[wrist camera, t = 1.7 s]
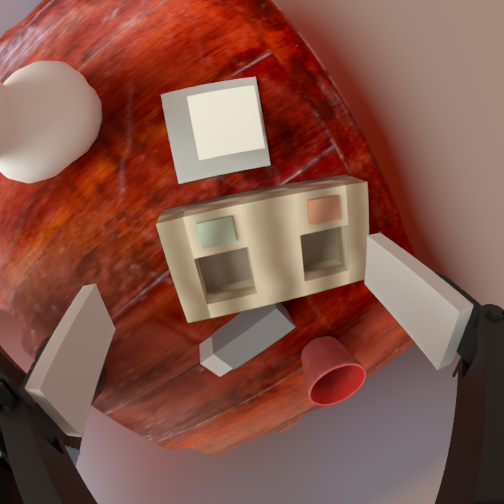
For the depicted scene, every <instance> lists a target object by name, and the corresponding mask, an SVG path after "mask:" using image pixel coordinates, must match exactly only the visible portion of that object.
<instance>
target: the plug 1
mask: <svg viewBox="0 0 504 504" xmlns="http://www.w3.org/2000/svg"><path fill="white" fill-rule="evenodd" d="M187 101H188V106H189V111H190V117H191V122H192V127H193V133H194V138H195V143H196V148H197V153H198V158H199V161H200V160H204V159H209V158H214V157H218V156H223V155H228V154H234V153H239V152H245V151H250V150H256V149H262V148H265V144H264V138H263V132H262V126H261V120H260V114H259V109H258V103H257V97H256V92H255V86H254V85H251V86H244V87H236V88H230V89H224V90H218V91H212V92H207V93H202V94H197V95H192V96H187Z"/></svg>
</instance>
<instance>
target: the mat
mask: <svg viewBox="0 0 504 504" xmlns="http://www.w3.org/2000/svg"><path fill="white" fill-rule="evenodd" d="M251 85H254V86H255V92H256V97H257V103H258V109H259V114H260V120H261V126H262V132H263V138H264V144H265V148H262V149H256V150H250V151H245V152H239V153H234V154H228V155H223V156H218V157H214V158H209V159H204V160H200V161H199V158H198V153H197V148H196V143H195V138H194V133H193V127H192V122H191V117H190V111H189V106H188V101H187V96H192V95H197V94H202V93H207V92H212V91H218V90H224V89H230V88H236V87H244V86H251ZM161 99H162V105H163V110H164V116H165V121H166V126H167V131H168V136H169V141H170V146H171V151H172V156H173V160H174V165H175V170H176V174H177V179H178V183H179V184H181V183H185V182H190V181H194V180H198V179H203V178H207V177H212V176H217V175H222V174H226V173H231V172H236V171H242V170H247V169H252V168H258V167H263V166H269V165H271V164H270V158H269V152H268V145H267V139H266V133H265V127H264V121H263V115H262V110H261V104H260V98H259V93H258V87H257V82H256V77H250V78H242V79H235V80H228V81H222V82H216V83H210V84H205V85H199V86H194V87H190V88H185V89H181V90H176V91H172V92H168V93H164V94H161Z"/></svg>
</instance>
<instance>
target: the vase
mask: <svg viewBox="0 0 504 504" xmlns="http://www.w3.org/2000/svg"><path fill="white" fill-rule="evenodd" d="M101 123H102V104H101V101H100V99H99V97H98V95H97V93H96V91H95V89H94V88H92V87H91V86H90V85H89V84H88V82H87V81H86V79H85V78H84V76H83V75H82V74H81V73H79V72H78V71H76V70H75V69H73V68H72V67H70V66H69V65H67V64H66V63H64V62H60V61H37V62H34V63H32V64H29V65H27V66H25V67H23V68H21V69H19V70H17V71H16V72H14V73H13V74H12V75H11V76H10V77H9V78H8V79H7V80H6V81H5V82H4V83H3V84H2V83H1V82H0V172H1V173H2V174H3V175H4V176H6V177H7V178H8V179H12V180H16V181H21V182H25V183H34V182H37V181H41V180H44V179H47V178H51V177H54V176H56V175H57V174H58V173H60V172H61V171H62V170H63V169H64V168H66V167H67V166H68V165H69V164H70V163H72V162H73V161H76V160H77V159H78V158H80V157H81V156H82V155H83V154H85V153H86V152H87V151H88V150H89V149H90V147H91V146H92V144H93V143H94V141H95V140H96V138H97V137H98V133H99V130H100V126H101Z"/></svg>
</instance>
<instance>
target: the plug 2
mask: <svg viewBox="0 0 504 504" xmlns="http://www.w3.org/2000/svg"><path fill="white" fill-rule="evenodd" d="M294 328H295V325H294V323H293V321H292V319H291V317H290V315H289V313H288V311H287V309H286V308H285V307H284V306H283V305H282V304H281V303H280V302H279V303H275V304H270V305H266V306H262V307H258V308H254V309H250V310H245V311H242V312H241V313H240V314H238V315H237V316H236V317H234V318H233V319H232V320H230V321H229V322H228V323H226V324H225V325H224V326H222V327H221V328H220V329H218V330H217V331H215V332H214V333H213V334H211V335H212V336H211V337H209V338H208V339H206V340H205V341H204V342H202V343H201V344H200V345H199V348H200V364H202V365H203V366H205V367H206V368H207V369H209V370H210V371H212V372H213V373H215V374H216V375H218V376H219V377H221V376H222V375H224V374H225V373H227V372H229V371H230V370H232V369H236V368H238V367H239V366H241V365H242V364H244V363H245V362H247V361H248V360H250V359H251V358H253V357H254V356H256V355H257V354H259V353H260V352H262V351H263V350H265V349H266V348H267V347H269V346H270V345H272V344H273V343H275V342H276V341H277V340H279V339H280V338H282V337H283V336H284V335H286V334H287V333H289V332H290V331H291V330H293V329H294Z"/></svg>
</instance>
